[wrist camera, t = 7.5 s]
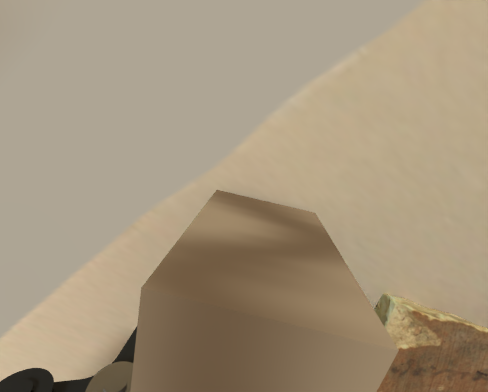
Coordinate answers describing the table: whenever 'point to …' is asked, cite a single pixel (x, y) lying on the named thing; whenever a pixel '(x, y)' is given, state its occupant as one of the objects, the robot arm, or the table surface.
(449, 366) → the shard
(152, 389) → the block
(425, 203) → the table surface
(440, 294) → the table surface
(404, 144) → the table surface
